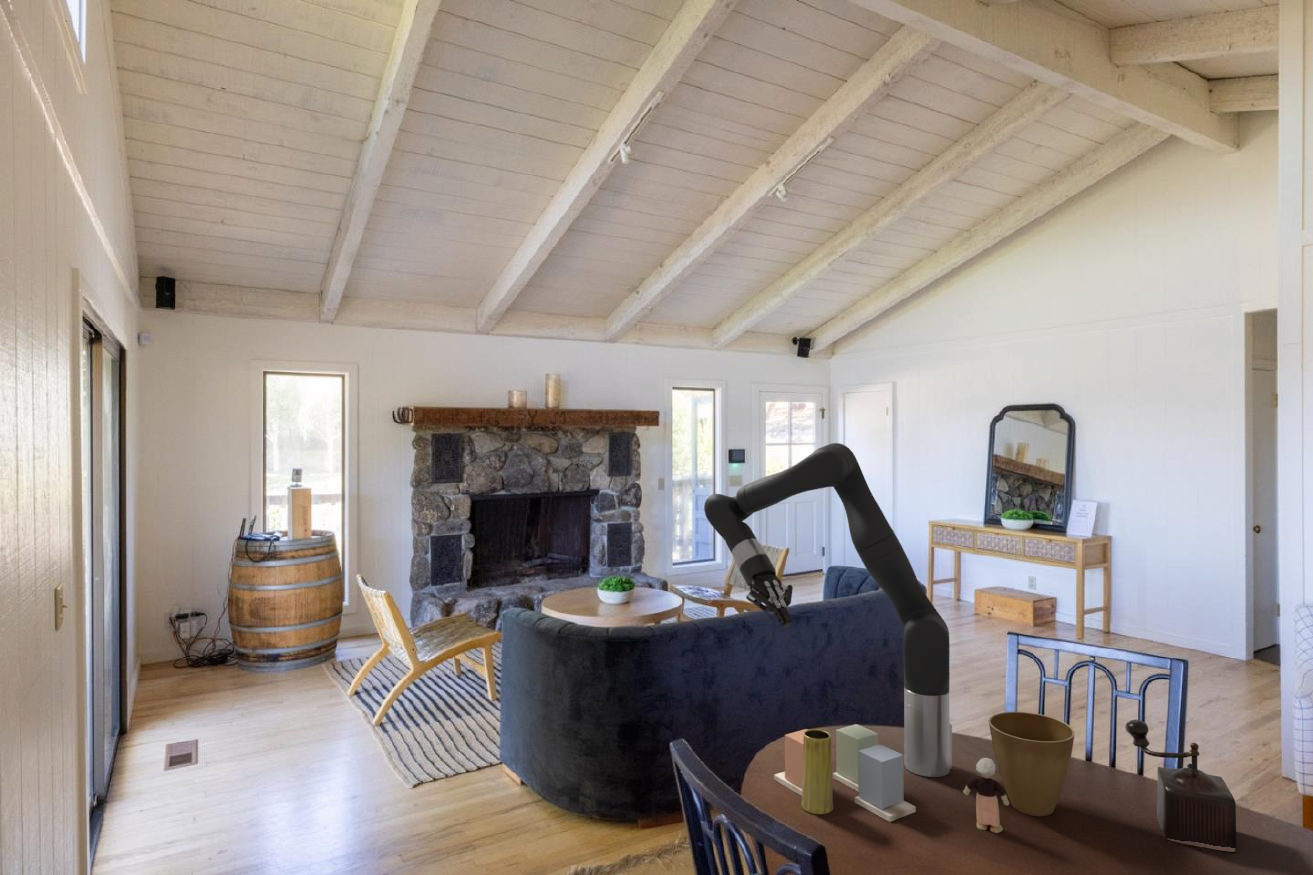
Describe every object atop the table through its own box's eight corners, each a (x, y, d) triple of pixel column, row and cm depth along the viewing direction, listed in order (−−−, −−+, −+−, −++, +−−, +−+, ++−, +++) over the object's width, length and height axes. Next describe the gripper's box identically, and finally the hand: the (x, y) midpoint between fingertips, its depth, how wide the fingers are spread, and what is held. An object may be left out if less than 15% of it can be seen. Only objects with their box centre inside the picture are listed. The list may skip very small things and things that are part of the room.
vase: (833, 816, 143) (833, 741, 143) (800, 813, 144) (800, 738, 144) (832, 801, 149) (832, 729, 149) (801, 798, 150) (801, 726, 150)
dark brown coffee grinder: (1221, 824, 140) (1221, 727, 140) (1238, 855, 130) (1238, 750, 130) (1123, 807, 146) (1123, 714, 146) (1132, 834, 136) (1132, 735, 136)
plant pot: (997, 782, 157) (997, 705, 157) (1079, 802, 148) (1079, 721, 148) (981, 812, 144) (981, 728, 144) (1069, 835, 136) (1069, 747, 136)
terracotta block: (806, 771, 159) (806, 728, 159) (826, 782, 154) (826, 738, 154) (784, 778, 156) (784, 734, 156) (804, 789, 151) (804, 744, 151)
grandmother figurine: (1007, 825, 139) (1007, 757, 139) (1010, 835, 136) (1009, 765, 136) (962, 818, 142) (962, 751, 142) (964, 828, 138) (963, 759, 138)
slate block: (879, 788, 151) (879, 744, 151) (903, 801, 146) (903, 754, 146) (858, 796, 148) (858, 750, 148) (882, 809, 143) (881, 761, 143)
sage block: (856, 765, 162) (856, 723, 162) (878, 776, 157) (878, 733, 157) (836, 772, 159) (836, 729, 159) (857, 783, 154) (857, 739, 154)
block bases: (836, 759, 168) (836, 755, 168) (929, 806, 147) (929, 801, 147) (773, 779, 158) (773, 774, 158) (863, 832, 137) (863, 826, 137)
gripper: (737, 555, 173) (772, 619, 163) (781, 550, 180) (818, 611, 170) (724, 574, 178) (757, 638, 168) (767, 569, 185) (801, 630, 174)
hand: (787, 624), depth 169 cm, fingers closed
